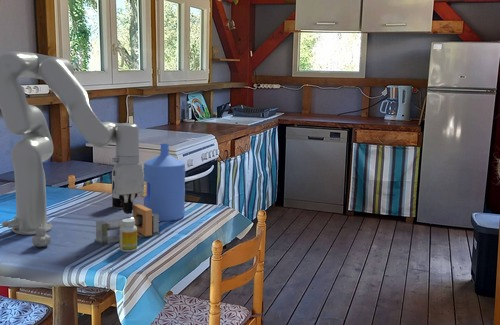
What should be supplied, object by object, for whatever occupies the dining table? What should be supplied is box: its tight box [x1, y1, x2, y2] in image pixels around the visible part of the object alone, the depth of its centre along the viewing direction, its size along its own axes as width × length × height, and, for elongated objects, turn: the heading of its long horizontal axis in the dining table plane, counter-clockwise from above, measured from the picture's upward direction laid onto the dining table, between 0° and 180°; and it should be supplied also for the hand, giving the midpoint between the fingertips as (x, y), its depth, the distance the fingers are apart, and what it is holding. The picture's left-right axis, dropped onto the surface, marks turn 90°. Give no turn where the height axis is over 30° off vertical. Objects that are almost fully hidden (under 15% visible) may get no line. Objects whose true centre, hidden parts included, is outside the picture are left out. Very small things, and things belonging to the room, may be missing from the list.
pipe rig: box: [94, 212, 161, 246], centre depth 176 cm, size 21×6×7 cm, turn 129°
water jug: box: [143, 143, 186, 222], centre depth 199 cm, size 16×16×28 cm
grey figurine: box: [31, 222, 52, 248], centre depth 164 cm, size 5×7×8 cm
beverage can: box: [111, 169, 128, 210], centre depth 212 cm, size 7×6×15 cm
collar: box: [132, 203, 152, 237], centre depth 179 cm, size 2×9×9 cm, turn 39°
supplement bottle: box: [119, 217, 138, 253], centre depth 164 cm, size 5×5×10 cm
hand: (127, 212), depth 180 cm, fingers closed
